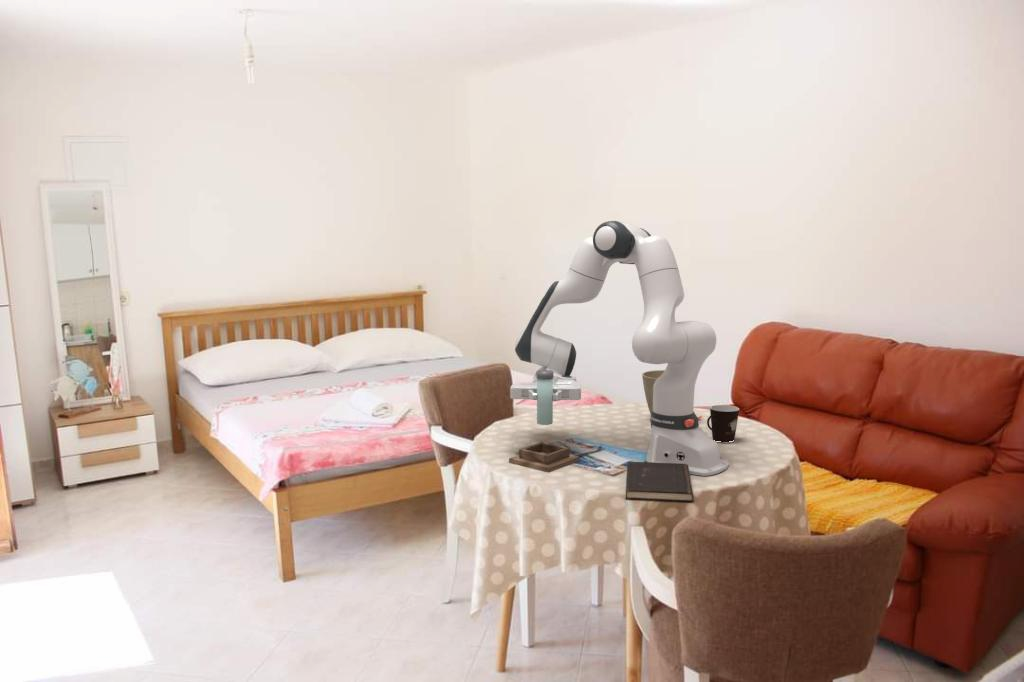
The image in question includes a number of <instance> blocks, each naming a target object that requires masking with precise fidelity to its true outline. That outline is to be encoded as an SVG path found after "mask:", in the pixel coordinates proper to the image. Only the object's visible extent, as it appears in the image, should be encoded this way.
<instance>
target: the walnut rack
mask: <svg viewBox="0 0 1024 682" xmlns="http://www.w3.org/2000/svg"><path fill="white" fill-rule="evenodd" d="M570 450H571V449H570V447H566V446H561V445H557V444H553V443H549V442H543V441H540V442H538V443H534V444H531V445H528V446H525V447H521V448H520V449H518V454H517V455H515V456H512V457H509V458H508V463H510V464H514V465H518V466H521V467H525V468H530V469H534V470H537V471H542V472H546V473H550V472H553V471H556V470H560V469H561V468H564V467H566V466H570V465H571V464H575V463H577V462H579V460H580V458H581V457H580V456H579V455H576V454H575V455H574V454H570V453H571V452H570Z"/></svg>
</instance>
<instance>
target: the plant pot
mask: <svg viewBox="0 0 1024 682" xmlns="http://www.w3.org/2000/svg"><path fill="white" fill-rule="evenodd" d="M664 371H665V369H659V370H658V369H657V370H648V371H644V372H643V373H641V377H642V382H643V390H644V394H645V399H646V404H647V407H648V411H649V414H650V415H651V411H652V410H653V386H654V383H655V381H656V380H657V378H659V377H660V376H661V375H662V374H663V373H664Z"/></svg>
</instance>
